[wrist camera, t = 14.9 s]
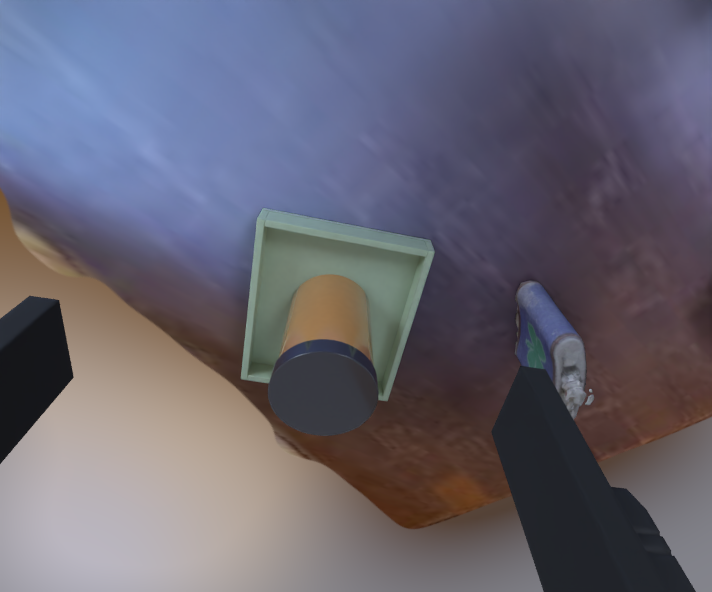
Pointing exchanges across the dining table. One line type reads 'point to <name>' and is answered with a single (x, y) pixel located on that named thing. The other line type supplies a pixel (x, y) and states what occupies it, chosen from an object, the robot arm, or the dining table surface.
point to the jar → (326, 359)
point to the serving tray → (339, 257)
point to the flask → (551, 344)
